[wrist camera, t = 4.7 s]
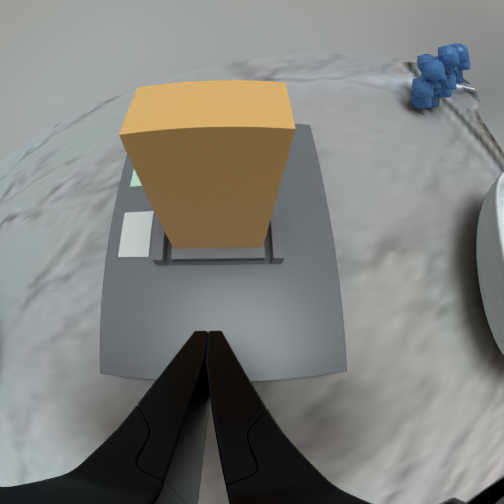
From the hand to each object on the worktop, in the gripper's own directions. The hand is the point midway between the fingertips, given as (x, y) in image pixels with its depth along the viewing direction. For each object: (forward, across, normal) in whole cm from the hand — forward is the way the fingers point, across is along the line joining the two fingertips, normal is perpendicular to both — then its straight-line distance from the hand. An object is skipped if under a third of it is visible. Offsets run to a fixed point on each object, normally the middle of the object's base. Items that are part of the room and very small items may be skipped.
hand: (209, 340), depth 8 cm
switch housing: (+11, 0, +1) cm, 11 cm away
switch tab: (+9, 0, 0) cm, 9 cm away
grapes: (+26, -26, -13) cm, 39 cm away
